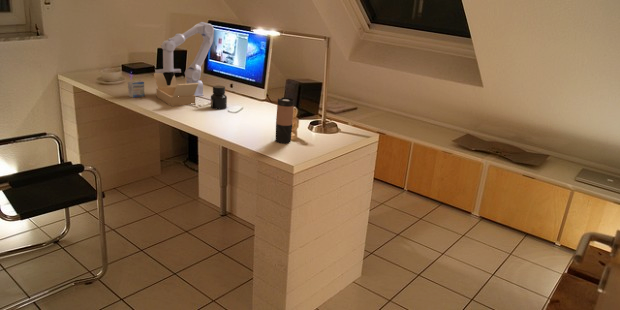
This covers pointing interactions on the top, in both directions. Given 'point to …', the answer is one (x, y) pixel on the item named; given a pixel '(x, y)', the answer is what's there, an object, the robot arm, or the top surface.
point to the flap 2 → (185, 89)
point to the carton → (167, 97)
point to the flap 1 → (164, 81)
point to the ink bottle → (218, 97)
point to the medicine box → (136, 89)
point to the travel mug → (284, 120)
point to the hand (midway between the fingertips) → (168, 85)
